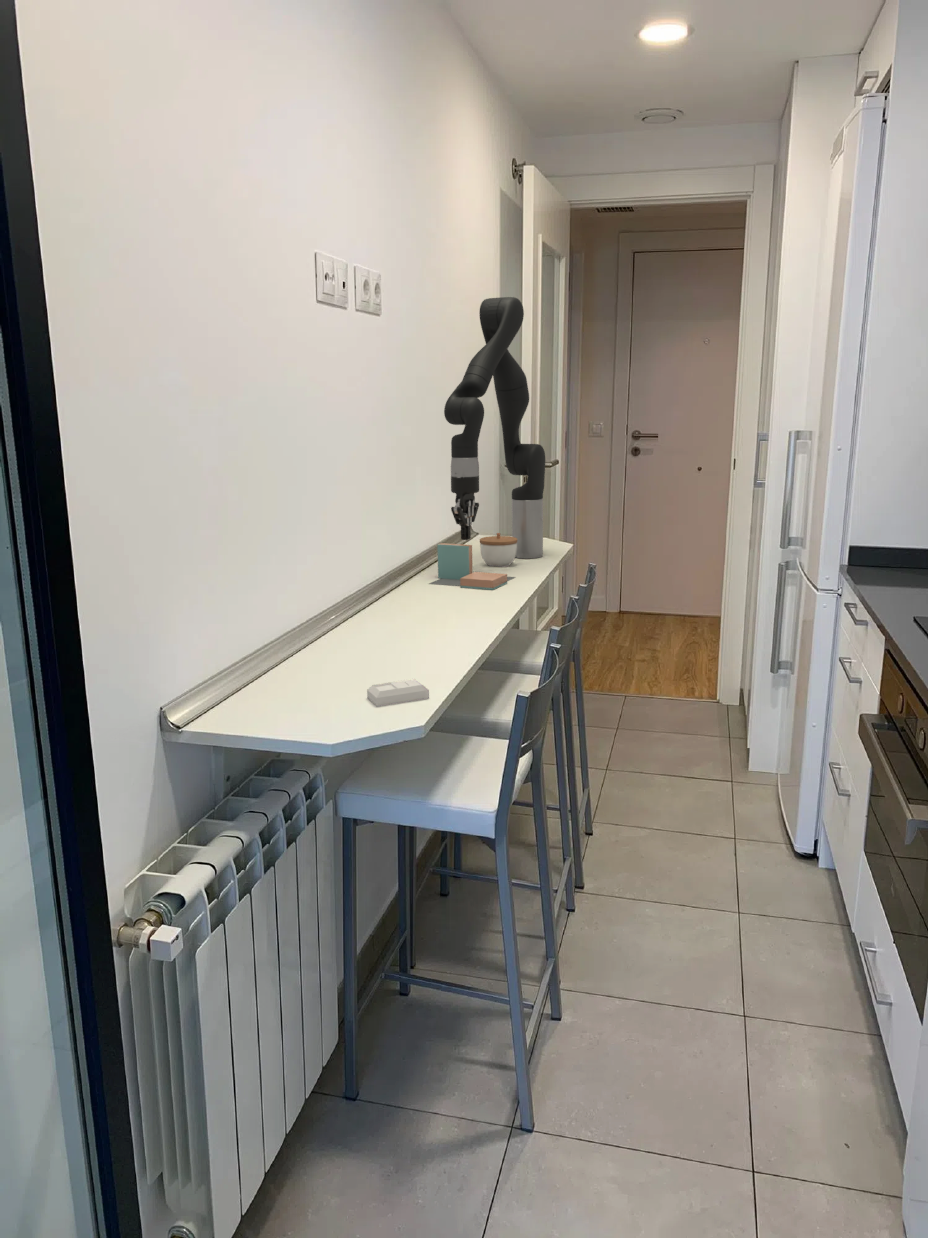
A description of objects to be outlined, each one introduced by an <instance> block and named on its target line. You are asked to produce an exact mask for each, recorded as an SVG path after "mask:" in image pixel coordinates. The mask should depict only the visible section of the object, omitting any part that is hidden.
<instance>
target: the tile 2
mask: <svg viewBox="0 0 928 1238" xmlns="http://www.w3.org/2000/svg"><path fill="white" fill-rule="evenodd" d="M507 577H508V574H507V573H498V572H497V573H494V572H482V571H481V572H480V571H474V572H473V573H472V574H469V575H467V576H464V577H462V578H460V586H459V587H460V588H461V589H472V590H473V589H475V590H487V591H494V590H496V589H498V588H500V587H502V586H504V585H506V584H508V581H507Z"/></svg>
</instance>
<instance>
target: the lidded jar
mask: <svg viewBox="0 0 928 1238" xmlns="http://www.w3.org/2000/svg"><path fill="white" fill-rule="evenodd" d="M479 544H480V545H479V547H480V548H479V549H480V555H481V558H482V560H483V562H485V564H487V565H488V566H489V567H490V566H491V567H503V568H507V567H510V565H511V564H512V563H513V561H514V560H515V558H516V557H515V556H516V552H517V538H515V537H512V536H508V535H506V536H505V535H501V533H500V532H497V533H496V535H492V536H485V537H481V538H479Z"/></svg>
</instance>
